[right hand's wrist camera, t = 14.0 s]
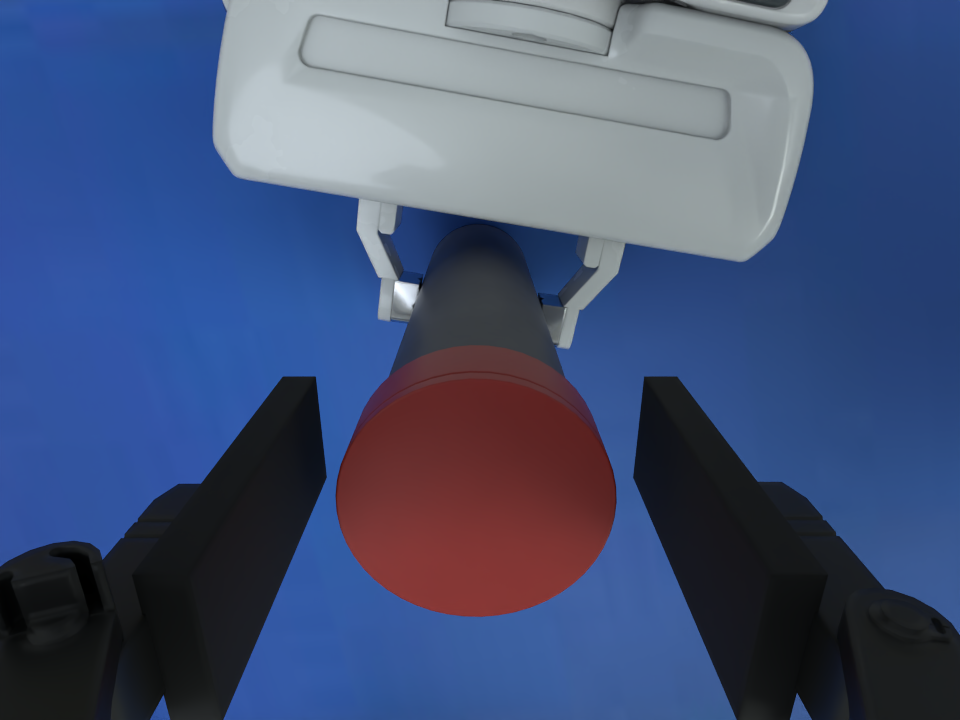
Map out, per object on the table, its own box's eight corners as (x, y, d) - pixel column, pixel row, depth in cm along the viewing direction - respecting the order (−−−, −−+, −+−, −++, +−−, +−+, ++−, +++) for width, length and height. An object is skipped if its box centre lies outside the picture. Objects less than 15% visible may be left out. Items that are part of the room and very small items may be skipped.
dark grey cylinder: (471, 337, 32) (461, 627, 13) (409, 266, 30) (304, 481, 12) (546, 279, 31) (645, 508, 12) (484, 203, 29) (493, 333, 11)
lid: (462, 596, 15) (460, 657, 13) (302, 445, 13) (275, 493, 12) (647, 473, 14) (671, 523, 12) (494, 291, 12) (496, 319, 10)
